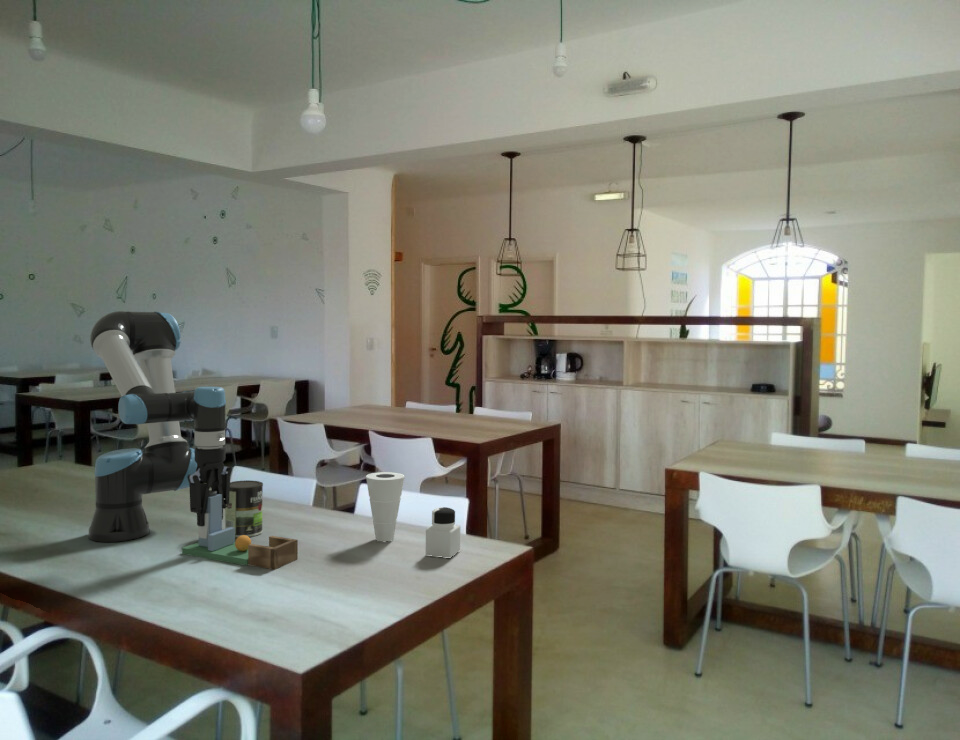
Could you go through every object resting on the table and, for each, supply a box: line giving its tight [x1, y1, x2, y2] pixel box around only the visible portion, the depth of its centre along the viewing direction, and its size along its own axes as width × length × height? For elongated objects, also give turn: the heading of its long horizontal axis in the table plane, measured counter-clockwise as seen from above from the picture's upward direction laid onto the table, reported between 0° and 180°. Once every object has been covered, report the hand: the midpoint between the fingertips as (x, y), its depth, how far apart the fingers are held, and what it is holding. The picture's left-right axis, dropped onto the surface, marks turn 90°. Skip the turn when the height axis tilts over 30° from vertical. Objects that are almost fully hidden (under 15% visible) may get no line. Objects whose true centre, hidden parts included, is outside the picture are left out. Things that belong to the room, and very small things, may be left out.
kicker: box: [198, 489, 236, 551], centre depth 191 cm, size 7×8×14 cm
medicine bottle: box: [425, 506, 461, 558], centre depth 193 cm, size 7×7×12 cm
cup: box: [365, 471, 405, 542], centre depth 204 cm, size 11×11×18 cm
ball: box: [235, 535, 252, 551], centre depth 187 cm, size 4×4×4 cm
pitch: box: [181, 541, 249, 566], centre depth 189 cm, size 21×10×2 cm, turn 67°
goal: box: [247, 535, 299, 571], centre depth 184 cm, size 8×9×5 cm
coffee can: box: [224, 479, 264, 539], centre depth 208 cm, size 10×10×14 cm
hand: (210, 535), depth 191 cm, fingers closed on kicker, 4 cm apart
